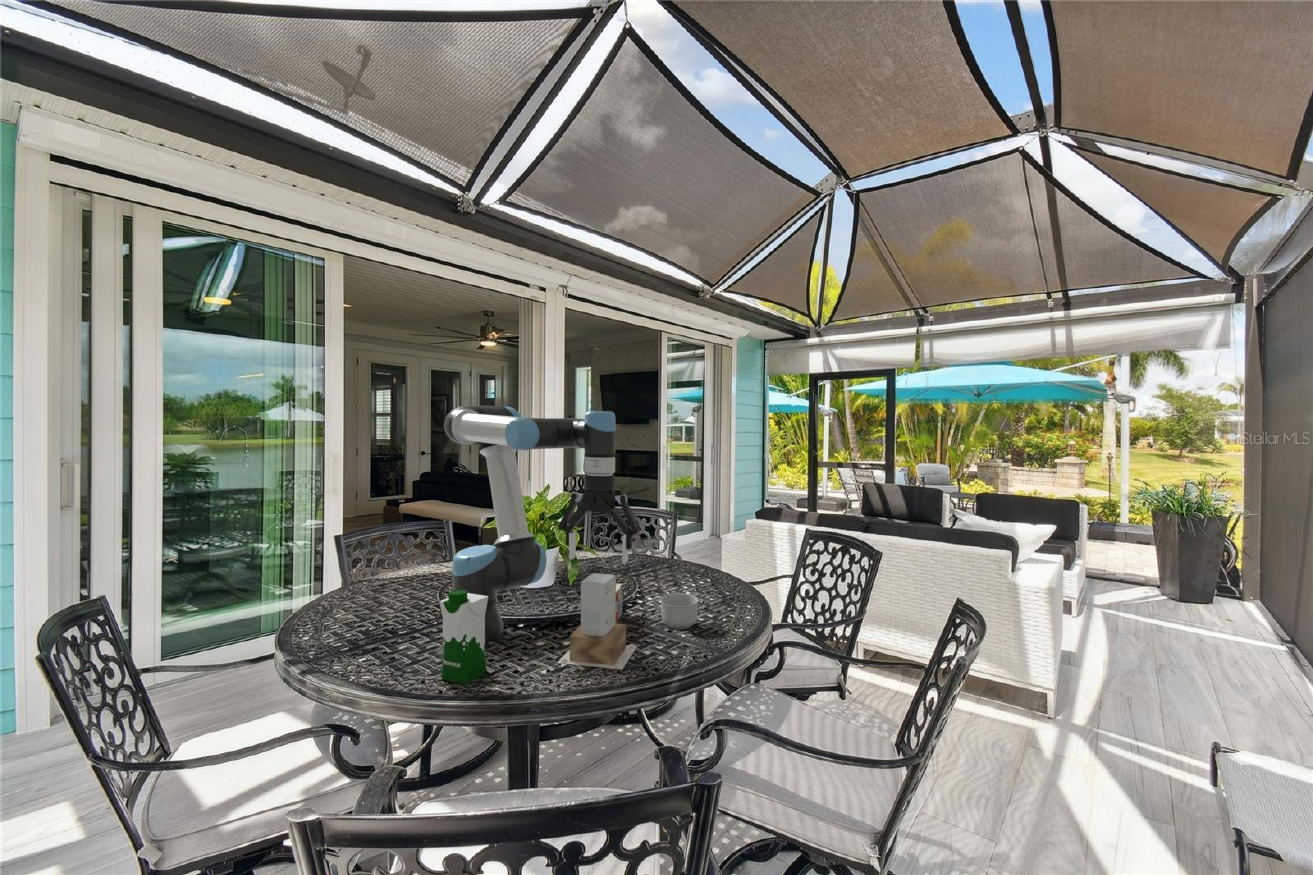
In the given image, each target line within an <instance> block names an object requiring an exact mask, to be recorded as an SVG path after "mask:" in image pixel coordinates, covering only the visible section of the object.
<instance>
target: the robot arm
mask: <svg viewBox="0 0 1313 875" xmlns="http://www.w3.org/2000/svg"><path fill="white" fill-rule="evenodd" d="M443 428H444V432H445V434H446V436H447V437H448V438H449V439H450V440H451V441H453V442H454V443H457V444H458V445H465V446H478V449H479V454H480V455H482V456H484V458H485V460H486V466H487V473H488V479H489V485H490V486H489V487H490V492H491V498H492V504H493V505H492V506H493V512H494V518H495V523H496V524H495V525H496V530H497V539H496V540H495V541H494V543H493V545H492V544H491V545H490V544H482V545H474V546H469V547H466V548H463V549H461V550H459V551H458V552H456V553H455V554H454V556H453V558H452V564H451V565H452V566H451V576H452V577H451V578H452V579H451V584H452V585H451V586H452V588H451V591H453V590H466V591H467V593H471V594H477V595H483V596H489V597H488V602H487V607H486V612H485V643H486V642H490V641H493V640H495V639H497V638H499V637H500V636H502V635H503V634H504V621H503V617H502V615H501V612H500V610H499V606H498V592H502V591H506V590H511V589H515V588H519V587H525V586H527V587H528V585H531V584H534V583H537V582H538V581H540V580H541V579H542V577H543V576H544V573H545V572H546V569H547V563H548V562H547V553H546V549H545V548H544V547H543V545H542V544H541V543H540V542H537V541H536V539H535V535H534V534H532V533H531V532H530V531H529V529H528V528H529V527H528V522H527V516H526V509H525V505H524V498H523V493H522V492H523V491H522V486H521V481H520V475H519V468H518V463H517V457H516V456H517V455H516V452H517V451H518V450H520V451H528V450H529V451H530V450H543V449H544V450H546V449H584V454H583V456H584V460H583V461H584V465H583V467H584V468H583V470H584V471H583V472H584V473H585V475H584V476H583V493H579V492H578V491H575V492H573V493H571V495H570V502H569V504H568V505H567V508H566V510H565V512H564V514H563V516H562V518H561V520H560V522H559V524H558V525H557V526H558V527H557V528H558V530H561V531H564V533H565V545H566V546H568V560H571V561H573V559H575V558H576V556H577V555H576V553H577V552H576V548H577V546H576V545H577V544H576V542H577V541H576V540H577V538H576V537H577V535H576V534H577V531H575V530H574V529H575V527H577V526H578V525H579V523H580V522H581V521H582V520H583V518H584V517H586V515H587V514H588V513H589V512H591V513H600V514H604V513H607V514H608V515H609V516H611V518H612V519H613V521H614V522H615V523H616V524H617V526H618V527H619V529H620V530H621V531H622V533H624V535H623V536H622V540H621V541H622V544H621V546H622V548H621V551H622V552H621V553H622V554H621V558H622V559H621V560H622V562H621V564H624V565H625V564H627V563H628V562H629V550H631V549H632V547H633V536H634V535H637V534H638V533H640V531H641V529H640V527H639V524H638V522H637V520H636V518H635V515H634V514H633V510H632V509H631V506H630V504H629V499H628V495H627V494H626V493H625V494H622V495H620V494H619V495H616V493H615V492H616V491H615V490H616V483H615V482H616V476H615V475H614V473H615V472H616V431H617V425H616V415H615V412H613V411H609V410H608V411H604V410H602V411H601V410H600V411H599V410H589V411H585V414H584V418H576V417H575V418H573V417H564V418H561V417H559V418H558V417H553V418H546V417H539V418H538V417H522V416H521V414H520V413H519V412H518V410H516V409H515V408H513V407H511V406H504V405H470V404H469V405H461V406H458V407H456V408H454V409H452V410H451V411H450V412H449V413H448V414H447V415H446V416H445V419H444V422H443ZM581 500H582V501H583V503H584V504H585V505H584V506H583V507H582V509H580V511H579V512H578V514H576V515H575V517H574V518H573V519H572V521H570V519H571V517H572V515H573V513H574V511H575V510H576V507H577V506H578V503H579V502H581ZM616 501H617V503H618V504H619V505H620V506H621V507H620V508H621V509H622V512H623V514H624V516H625V518H626V520H627V522H628V523H627V522H626V520H625V519H624V518H623V516H622V515H621V514H620V513H619V511H618V509H617V508H616V506H615V505H614V504H615V503H616ZM569 522H570V523H569ZM573 530H574V531H573Z"/></svg>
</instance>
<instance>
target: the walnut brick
mask: <svg viewBox="0 0 1313 875" xmlns="http://www.w3.org/2000/svg"><path fill="white" fill-rule="evenodd" d="M626 645H627V624H626V623H617V622H616V623H615V626H614V627H613V628H612V629H611V631H610V632H609V633H608V634H607V635H606V636H605V637H601V636H592V635H583V634H581V624H580V625H579V626H578V627H577V628H576V629H575V631H573V632H572V633H571V634H570V635H569V650H570V661H574V662H584V663H594V664H604V665H614V664H615V663H616V662H617V660H618V659H619V657H620V656H621V654H622V653H623V651H624V650H625V648H626Z"/></svg>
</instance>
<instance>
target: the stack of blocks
mask: <svg viewBox="0 0 1313 875" xmlns="http://www.w3.org/2000/svg"><path fill="white" fill-rule="evenodd" d="M623 596H624V595H623V583H616V584H615V623H616V624H617V623H618V621H619V619H620V618H621V616H622V615H623V611H624V610H623V603H624V602H623V598H624V597H623Z"/></svg>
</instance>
